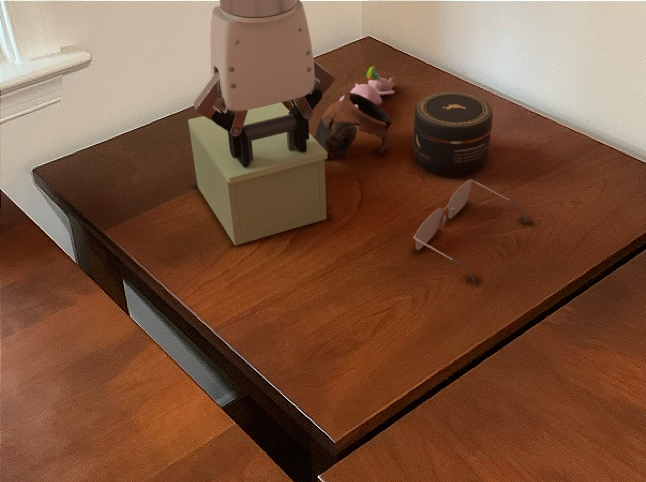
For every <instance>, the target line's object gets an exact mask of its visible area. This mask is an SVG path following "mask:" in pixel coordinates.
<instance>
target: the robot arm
mask: <svg viewBox="0 0 646 482" xmlns="http://www.w3.org/2000/svg"><path fill="white" fill-rule="evenodd" d="M305 11H306V10H305V8H304V5H303V2H302V1H301V0H219V5H217V6H214V7H213V8H212V12H211V20H210V41H209V42H210V49H209V51H210V73H211V79H210V80H209V81H208V83H207V84H206V85H205V87H204V88H203V89H202V91H201V92H200V93H199V95H197V97H196V98H195V100H194V101H193V107H194V109H195V110H196V111H197V113H198V114H199V115H202V116H205V117H206V118H208V119H210V120H212V121H213V122H214V123H215V124H217V125H219V126H220V127H222V128H223V129H225V130H227V131H228V139H229V148H230V153H231V155H232V157H233V158H234V159H235V158H237V159H238V161H239V162H240V163H241V165H242V166H243V167H248V166H249V165H250V159H249V149H248V139H247V135H246V133H245V132H244V131H243V125H244V122H245V118H246V115H247V112H248V110H250V109H255V108H259V107H264V106H268V105H272V104H276V103H285V102H290V104H291V105H292V107H291V108H289V111H290V112H289V114H293V115H294V116H295V118H296V121H297V129H296V130H294V136H295V147H296V148H297V149H298V150H299V151H300V152H306V151H307V144H306V140H309V133H310V123H309V122H310V121H309V120H310V119H311V117H312V116H313V111H314V109H315V108H316V107H317V105H318V104H319V103H320V102H321V100H322V99H323V95H324V93H325V94H326V92H327V91H328V90H329V88H330V87H331V86H332V84H333V83H334V82H335V76H333V74H332V73H330V71H328V70H327V69H326V68H325V67H323V66H322V65H321V64H320V63H318V62H317V61H315V59H314V53H313V45H312V39H311V34H310V28H309V24H308V20H307V15H306V12H305ZM219 97H222V99H223V100H224V105H225V109H224V110H222V109H220V108H218V107H215V106H214V104H215V102H216V101H217V100H218V99H219ZM223 111H225V112H223Z"/></svg>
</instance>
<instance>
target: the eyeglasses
mask: <svg viewBox="0 0 646 482" xmlns="http://www.w3.org/2000/svg"><path fill="white" fill-rule="evenodd" d="M472 184H475V185H478V186H480V187H481V188H484V189H485V190H487V191H490V192H491V193H493V194H495V195H497V196H499V197H501V198H502V199H505V200H507V201H509V202H510V203H511V204H513V205H515V206H517V207H518V208H519V210H520V211H521V214H522V217H523V220H524V222H525V223H526V224H527V223H528V220H527V218H526V215H525V213H524V210H523V209H522V207H521V205H519V204H518V203H516V202H514V201H513V200H511V199H509V198H507V197H506V196H503V194H501V193H498V192H496V191H495V190H492V189H491V188H489V187H487V186H485V185H483V184H481V183H480V182H478V181H476V180H473V179H471V178H470V179H468V180H467V181H465V182H464V183H463V184H461V185H460V186H459V187H458V189H456V190H455V192H453V194H452V196H451V197H450V199H449V201H448V204H447V205H446V206H445V207H443V208H442V207H439V208H437V209H435V210H434V211H433V212H432V213H431V214H430V215H429V216H427V218H426V219H425V220H424V221H423V222H422V223H421V224H420V225H419V227H418V229H417V230H416V233H415V234H414V235H413V240H415V249H416V250H417V251H418V250H421V249H422V248H423V247H425V246H426V247H427V248H428V249H431V250H433V251H434V252H437V253H438V254H439V255H441V256H444V257H445V258H447V259H449V260H451V261H452V262H454V263H456V264H458V265H460V266H462V267H463V268H464V269H466V272H467V273H468V275H469V276H470V278H471V280H472V281H473V282H476V280H475V278H474V276H473V275H472V273H471V271H470V270H469V268H468V267H466V265H464V263H461V262H460V261H457V260H456V259H454V258H451V257H450V256H449V255H447V254H445V253H443V252H442V251H440V250H438V249H437V248H434V247H433V246H432V245H429V244H427V243H428V242H429V241H430V240H431V239H432V238H433V236H434V235H435V234H436V232H437V230H438V227H439V226H441V227H443V226H444V225H445V223H446V221H447V218H448V219H452V218H453V217H455V216H456V215H457V213H459V212H460V211H461V210H462V209H463V207H464V206H465V204H466V203H467V201H468V198H469V195H470V193H471V188H472ZM446 209H447V216H446V215H445V214H444V215H443V212H444V211H445V210H446Z"/></svg>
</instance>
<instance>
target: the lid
mask: <svg viewBox="0 0 646 482" xmlns="http://www.w3.org/2000/svg"><path fill="white" fill-rule="evenodd" d="M222 111H223V112H225V110H222ZM289 112H290V109H288V108H287V106H285V105H284V104H283V102H281V103H276V104H272V105H268V106H264V107H259V108H255V109H250V110H248V112H247V115H246V118H245V122H244V125H243V131H244V132H245V133H246V135H247V139H248V149H249V159H250V165H249V166H248V167H243V166H242V165H241V163H240V162H239V161H238V159H237V158H235V159H234V158H233V157H232V155H231V153H230V148H229V139H228V131H227V130H225V129H223V128H222V127H220V126H219V125H217V124H215V123H214V122H213V121H212V120H210V119H208V118H206V117H205V116H203V115H202V116H197V117H194V118H189V119H187V122H188V127H189V126H190V128H191V129H192V130H193V132H194V133H195V135H196V136H197V138H198V139H199V141H200V142H201V143H202V145H203V146H204V148H205V149H206V151H207V152H208V153H209V155H210V156H211V158H212V159H213V161H214V162H215V164H216V165H217V166H218V168H219V169H220V171H221V172H222V174H223V175H224V176H225V178H226V179H227V181H228V182H229V184H232V183H236V182H240V181H244V180H247V179H251V178H255V177H259V176H263V175H266V174H270V173H274V172H278V171H282V170H285V169H289V168H293V167H297V166H301V165H304V164H308V163H312V162H316V161H320V160H323V159H325V160H327V159H328V151H327V152H326V151H325V149H324V148H323V147H322V146H321V145H320V144H319V143H318V142H317V141H316V140H315V137H314V136H313V135H312V134H311V133H310V132H309V140H306V144H307V151H306V152H300V151H299V150H298V149H297V148H296V147H295V136H294V130H296V129H297V121H296V118H295V116H294V115H293V114H289Z"/></svg>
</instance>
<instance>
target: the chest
mask: <svg viewBox="0 0 646 482" xmlns="http://www.w3.org/2000/svg"><path fill="white" fill-rule="evenodd" d="M188 130H189V136H190V143H191V149H192V155H193V157H192V158H193V162H194V163H193V164H194V169H195V177H196V182H197V183H196V184H197V188H198V190H199V192H201V194H202V196H203V198H204V199H205V201H206V202H207V204H208V205H209V207H210V208H211V210H212V211H213V213H214V215H215V216H216V218H217V219H218V221H219V223H221V226H222V227H223V229H224V230H225V232H226V233H227V235H228V237H229V239H230V240H231V241H232V243H233V244H234V246H238V245H243V244H246V243H249V242H253V241H255V240H259V239H263V238H267V237H269V236H274V235H277V234H280V233H283V232H286V231H291V230H294V229H297V228H300V227H303V226H307V225H311V224H314V223H318V222H320V221H325V220H327V191H326V187H327V186H326V161H325V160H326V159H323V160H320V161H316V162H312V163H308V164H304V165H301V166H297V167H293V168H289V169H285V170H282V171H278V172H274V173H270V174H266V175H263V176H259V177H255V178H251V179H247V180H244V181H240V182H236V183H232V184H229V182H228V181H227V179H226V178H225V176H224V175H223V174H222V172H221V171H220V169H219V168H218V166H217V165H216V164H215V162H214V161H213V159H212V158H211V156H210V155H209V153H208V152H207V151H206V149H205V148H204V146H203V145H202V143H201V142H200V141H199V139H198V138H197V136H196V135H195V133H194V132H193V130H192V129H191V128H190V126H189V125H188Z"/></svg>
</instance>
